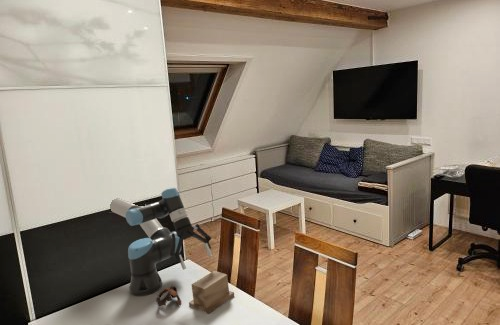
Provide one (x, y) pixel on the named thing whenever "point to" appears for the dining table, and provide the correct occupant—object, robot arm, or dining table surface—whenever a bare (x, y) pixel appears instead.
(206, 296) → the stand
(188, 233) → the robot arm
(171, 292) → the broken clay pot
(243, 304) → the dining table surface
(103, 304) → the dining table surface
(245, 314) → the dining table surface
